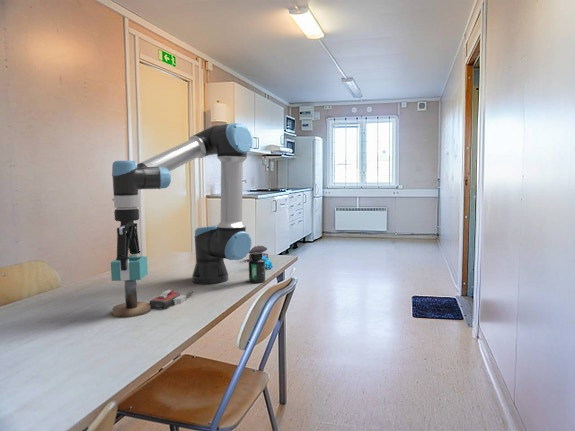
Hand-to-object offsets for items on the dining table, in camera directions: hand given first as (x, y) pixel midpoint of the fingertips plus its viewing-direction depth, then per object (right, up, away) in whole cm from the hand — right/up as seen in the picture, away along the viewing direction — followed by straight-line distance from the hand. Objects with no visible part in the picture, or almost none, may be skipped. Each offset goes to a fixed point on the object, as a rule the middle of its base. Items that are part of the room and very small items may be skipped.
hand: (129, 276), depth 146 cm
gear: (+41, -5, +65) cm, 77 cm away
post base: (0, -12, +1) cm, 12 cm away
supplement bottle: (+39, -8, +39) cm, 56 cm away
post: (0, -10, +1) cm, 10 cm away
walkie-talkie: (+11, -11, +12) cm, 20 cm away
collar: (0, 0, 0) cm, 0 cm away
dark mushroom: (+37, -3, +84) cm, 92 cm away
